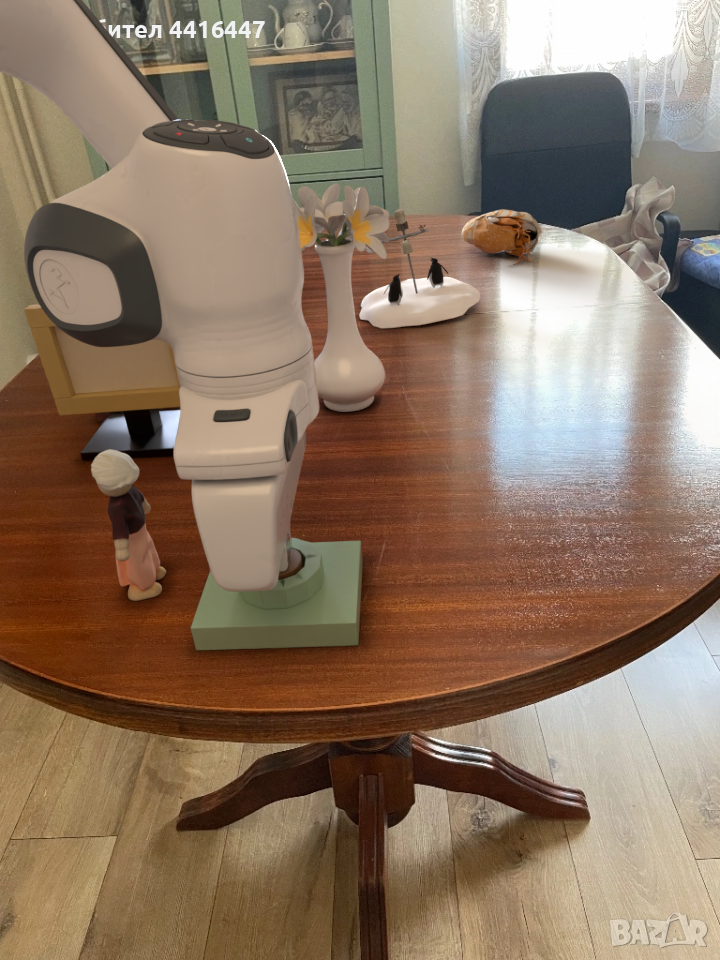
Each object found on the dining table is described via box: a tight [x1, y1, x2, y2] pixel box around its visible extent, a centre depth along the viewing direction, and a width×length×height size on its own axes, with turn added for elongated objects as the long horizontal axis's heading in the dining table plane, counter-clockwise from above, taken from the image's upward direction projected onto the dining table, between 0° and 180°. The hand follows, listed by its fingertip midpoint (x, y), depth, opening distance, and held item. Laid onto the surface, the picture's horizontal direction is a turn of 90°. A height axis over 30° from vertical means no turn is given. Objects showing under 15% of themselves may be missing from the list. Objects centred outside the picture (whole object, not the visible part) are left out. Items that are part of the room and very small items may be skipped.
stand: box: [80, 408, 180, 461], centre depth 82 cm, size 12×10×12 cm
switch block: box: [190, 537, 364, 651], centre depth 56 cm, size 12×10×4 cm
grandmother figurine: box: [90, 449, 167, 602], centre depth 57 cm, size 8×4×13 cm, turn 13°
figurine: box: [358, 208, 481, 329], centre depth 114 cm, size 20×18×16 cm
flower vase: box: [293, 183, 391, 413], centre depth 83 cm, size 13×18×25 cm
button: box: [278, 548, 303, 580], centre depth 56 cm, size 4×4×2 cm
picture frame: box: [23, 303, 180, 416], centre depth 77 cm, size 16×2×12 cm, turn 88°
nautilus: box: [461, 209, 543, 266], centre depth 141 cm, size 8×22×15 cm
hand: (279, 560), depth 55 cm, fingers closed, pressing on button
